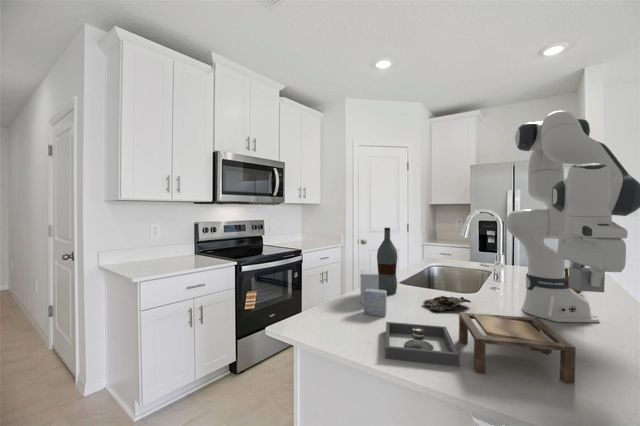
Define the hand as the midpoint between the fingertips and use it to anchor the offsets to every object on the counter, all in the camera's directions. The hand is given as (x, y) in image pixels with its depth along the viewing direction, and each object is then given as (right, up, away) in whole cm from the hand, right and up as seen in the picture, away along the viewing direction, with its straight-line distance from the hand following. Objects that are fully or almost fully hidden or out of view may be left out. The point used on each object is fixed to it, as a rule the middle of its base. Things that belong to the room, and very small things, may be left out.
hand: (585, 282), depth 77 cm
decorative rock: (-17, -20, +45) cm, 52 cm away
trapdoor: (-17, -16, +3) cm, 24 cm away
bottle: (-36, -20, +64) cm, 76 cm away
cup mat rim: (-39, -21, +10) cm, 45 cm away
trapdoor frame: (-17, -21, +3) cm, 27 cm away
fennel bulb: (+49, -20, +62) cm, 82 cm away
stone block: (0, -2, 0) cm, 2 cm away
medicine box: (-46, -20, +37) cm, 63 cm away
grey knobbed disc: (-39, -21, +10) cm, 45 cm away
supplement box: (-46, -20, +50) cm, 71 cm away
